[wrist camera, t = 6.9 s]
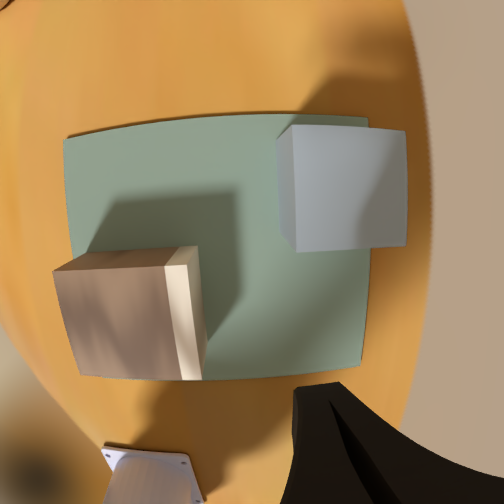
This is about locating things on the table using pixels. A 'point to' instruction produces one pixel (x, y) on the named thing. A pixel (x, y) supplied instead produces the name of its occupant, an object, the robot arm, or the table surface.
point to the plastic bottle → (3, 3)
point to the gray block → (342, 187)
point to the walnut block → (135, 313)
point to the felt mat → (223, 237)
